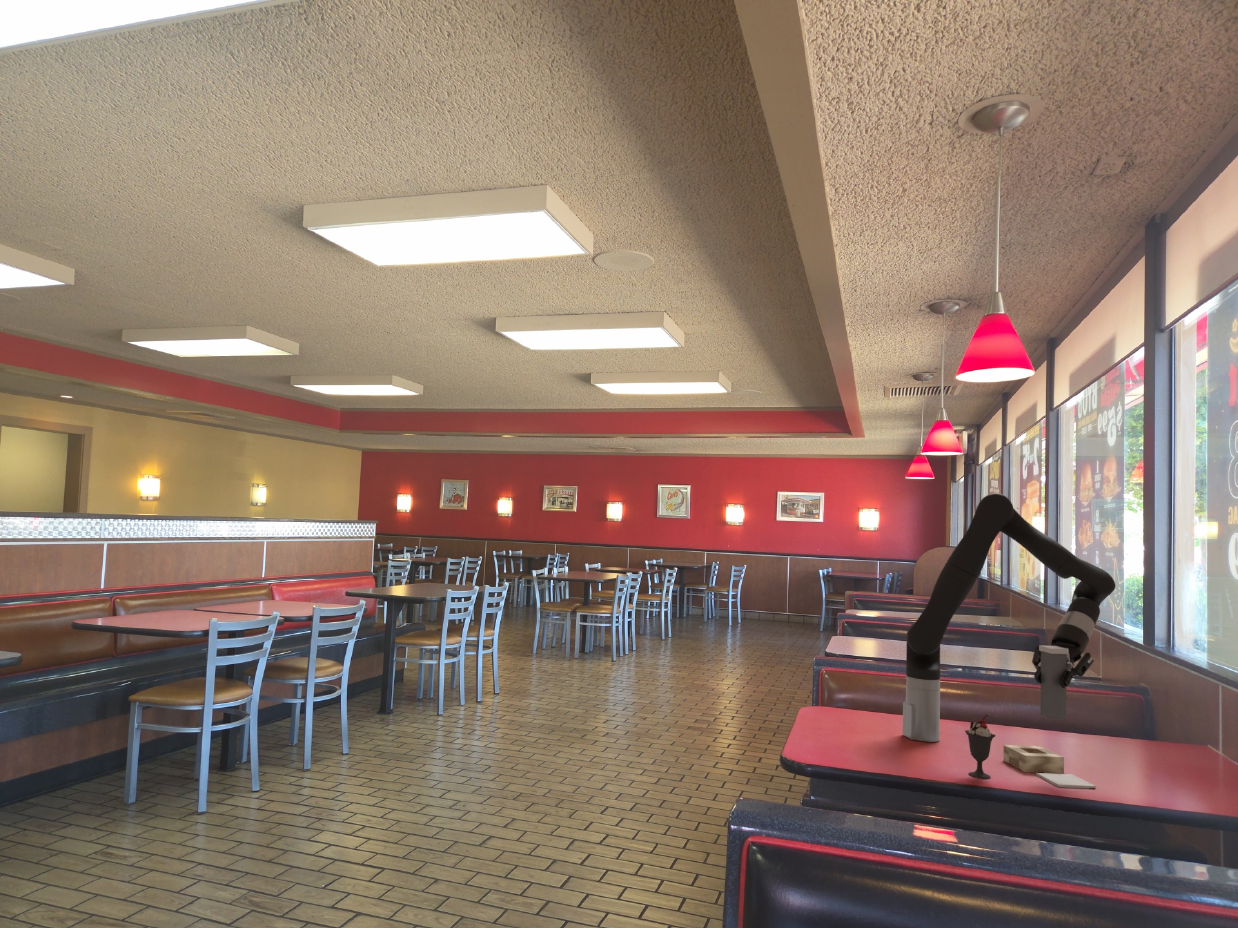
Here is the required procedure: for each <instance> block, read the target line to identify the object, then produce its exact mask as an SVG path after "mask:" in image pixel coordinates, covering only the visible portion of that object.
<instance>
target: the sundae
mask: <svg viewBox="0 0 1238 928" xmlns="http://www.w3.org/2000/svg"><path fill="white" fill-rule="evenodd" d="M987 717H989V715H988V714H985V715H984V716H983V718H982V719H980V720H979V721H975V722H974V721H971V722H970V726H969V729H965V730H964V732H965V734H966V735H967V738H968V744H969V745H968V746H969V752H970V755H971V756H972V758H973V759H974V760H975V761H976V770H975V771H969V772H968V775H969V776H970V777H972V778H975V777H977V778H976V779H980V778H982V779H981V780H990V779H991V778H992V776H991V775H990V774H987V773H985V772H984V769H983V762H984V761H986V760H987V759H988V758H990V757H989V755H990V752H991V744H992V740H993V739H994V738H995V737H996V734H993V733H992V732H991V731H990V729H989V728H988V725H987V723H986V720H985V719H986V718H987ZM989 778H990V779H989Z"/></svg>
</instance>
